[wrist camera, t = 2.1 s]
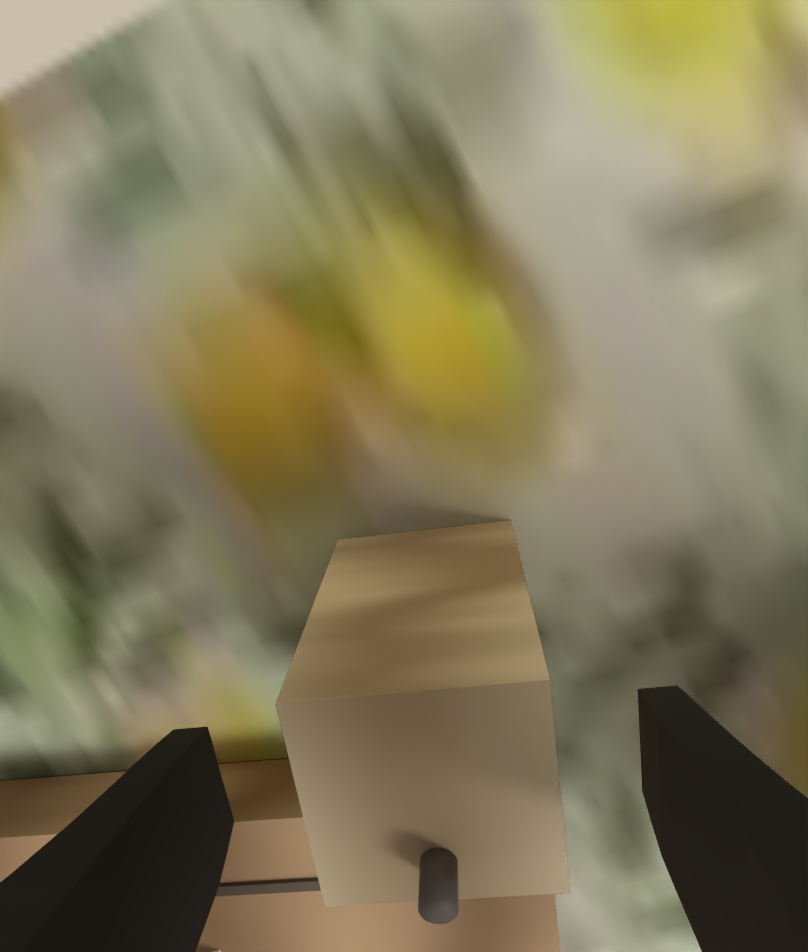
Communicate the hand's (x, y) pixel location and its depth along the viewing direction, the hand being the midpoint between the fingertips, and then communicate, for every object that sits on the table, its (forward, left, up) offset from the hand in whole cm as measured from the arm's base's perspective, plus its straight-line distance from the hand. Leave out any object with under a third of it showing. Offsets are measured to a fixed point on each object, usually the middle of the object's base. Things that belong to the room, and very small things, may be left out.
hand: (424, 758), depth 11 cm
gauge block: (0, 0, -5) cm, 5 cm away
